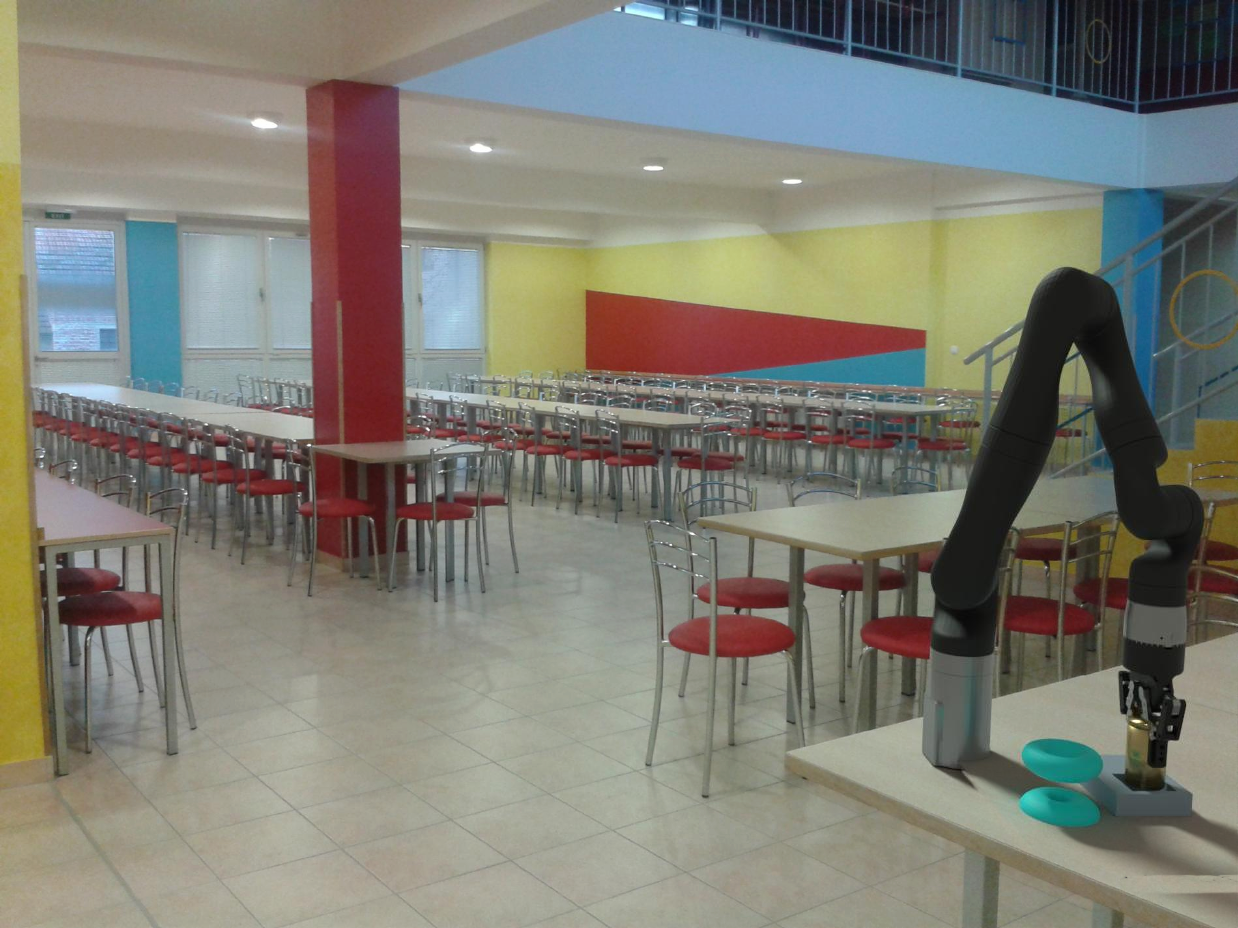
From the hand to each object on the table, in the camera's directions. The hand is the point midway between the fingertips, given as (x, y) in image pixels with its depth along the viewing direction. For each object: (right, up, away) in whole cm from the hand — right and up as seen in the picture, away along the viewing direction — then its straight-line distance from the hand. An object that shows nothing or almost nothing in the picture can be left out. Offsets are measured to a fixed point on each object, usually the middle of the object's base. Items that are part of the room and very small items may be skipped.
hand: (1146, 758), depth 148 cm
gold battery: (0, -3, 0) cm, 3 cm away
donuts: (-12, -8, -1) cm, 15 cm away
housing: (-1, -8, +4) cm, 8 cm away
